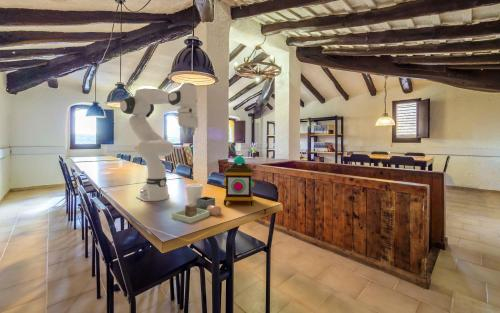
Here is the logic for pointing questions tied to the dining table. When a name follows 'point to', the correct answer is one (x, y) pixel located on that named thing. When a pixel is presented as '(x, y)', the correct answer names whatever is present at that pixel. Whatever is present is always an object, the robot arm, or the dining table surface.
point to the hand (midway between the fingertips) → (189, 135)
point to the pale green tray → (200, 215)
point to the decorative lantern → (238, 182)
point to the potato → (214, 210)
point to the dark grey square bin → (205, 202)
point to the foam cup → (194, 192)
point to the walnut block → (190, 210)
